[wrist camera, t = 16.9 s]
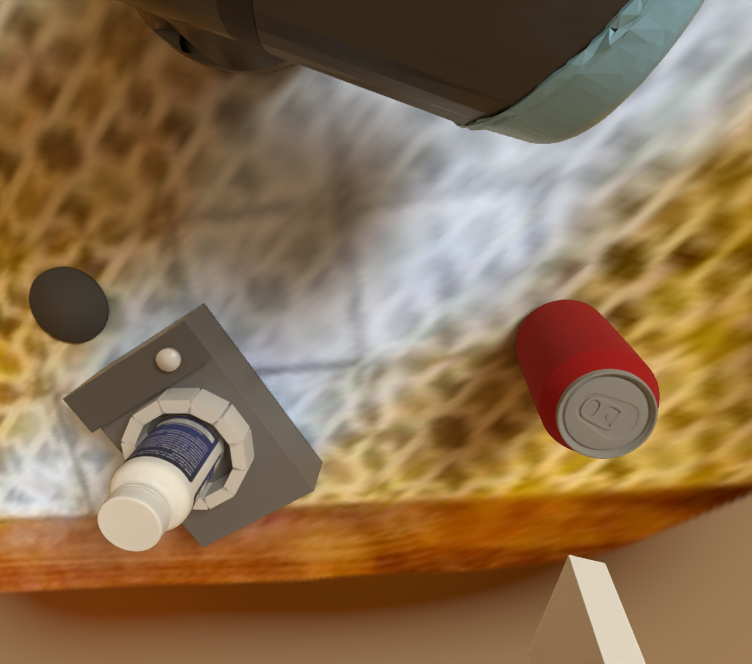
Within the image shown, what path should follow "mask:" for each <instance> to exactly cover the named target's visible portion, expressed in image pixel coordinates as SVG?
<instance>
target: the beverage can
mask: <svg viewBox="0 0 752 664" xmlns="http://www.w3.org/2000/svg"><path fill="white" fill-rule="evenodd" d="M516 354H517V357H518V360H519V363H520V366H521V369H522V372H523V375H524V377H525V380H526V383H527V385H528V388H529V391H530V393H531V396H532V398H533V401H534V403H535V406H536V408H537V411H538V413H539V416H540V418H541V420H542V423H543V425H544V427H545V429H546V430H547V432H548V433H549V434H550V435H551V437H552V438H554V439H555V440H556V441H557V442H558V443H560V444H561V445H563V446H565V447H566V448H568V449H571V450H573V451H576V452H578V453H580V454H582V455H585V456H588V457H592V458H599V459H607V458H615V457H619V456H622V455H625V454H627V453H630V452H631V451H633V450H635V449H636V448H638V447H639V446H640V445H642V444H643V443H644V442H645V441H646V440H647V438H648V437H649V436H650V434H651V433H652V431H653V429H654V427H655V424H656V421H657V416H658V408H659V399H660V395H659V387H658V383H657V380H656V378H655V376H654V374H653V373H652V371H651V370H650V368H649V367H648V366H647V365H646V364H645V362H644V361H643V360H642V359H641V358H640V357H639V355H638V354H637V353H636V352H635V351H634V350H633V349H632V347H631V346H630V345H629V344H628V343H627V342H626V341H625V340H624V339H623V337H622V336H621V335H620V334H619V333H618V332H617V331H616V330H615V329H614V328H613V327H612V326H611V324H610V323H609V322H608V321H607V320H606V319H605V318H604V317H603V316H602V315H601V314H600V313H599V312H598V311H597V310H596V309H594V308H593V307H591V306H590V305H588V304H586V303H583V302H580V301H575V300H558V301H553V302H550V303H547V304H545V305H542V306H541V307H539V308H537V309H536V310H534V311H533V312H532V313H531V314H530V315H529V316H528V317H527V318H526V319H525V321H524V322H523V323H522V325H521V327H520V329H519V332H518V334H517V338H516Z"/></svg>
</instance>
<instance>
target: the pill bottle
mask: <svg viewBox="0 0 752 664" xmlns="http://www.w3.org/2000/svg"><path fill="white" fill-rule="evenodd" d="M223 454H224V440H223V437H222V435H221V434H220V433H219V431H218V430H217V429H216V428H215V426H214V425H212V424H210V423H208V422H206V421H204V420H202V419H200V418H198V417H196V416H194V415H192V414H190V413H172V414H170V415H168V416H166V417H165V418H163V419H162V420H161V421H160V422H159V423H158V424H157V425H156V426H155V427H154V429H153V430H152V431H151V432H150V433H149V434H148V435H147V437H146V438H145V439H144V440H143V441H142V442H141V443H140V445H139V446H138V447H137V448H136V449H135V450H134V452H133V453H132V454H131V455H130V456H129V457H128V458H127V459H126V461H125V462H124V463H123V464H122V465H121V466H120V467H119V469H118V470H117V471H116V472H115V474H114V475H113V477H112V479H111V482H110V487H109V497H108V498H107V500H106V501H105V502H104V503H103V504H102V506H101V507H100V509H99V512H98V519H97V520H98V525H99V528H100V530H101V532H102V534H103V535H104V536H105V537H106V539H107V540H109V541H110V542H111V543H112V544H114V545H115V546H117V547H119V548H122V549H124V550H128V551H144V550H147V549H149V548H151V547H153V546H154V545H155V544H157V542H158V541H159V540H160V538H161V537H162V535H163V534H164V532H165V531H169V530H171V529H173V528H175V527H177V526H179V525H180V524H181V523H182V522H183V521H184V520H185V519H186V518H187V516H188V515H189V513H190V512H191V510H192V509H193V507H194V505H195V504H196V502H197V500H198V499H199V497H200V495H201V494H202V492H203V490H204V489H205V487H206V485H207V484H208V482H209V480H210V479H211V477H212V476H213V474H214V472H215V470H216V469H217V467H218V466H219V464H220V462H221V460H222V457H223Z"/></svg>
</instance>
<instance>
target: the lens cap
mask: <svg viewBox="0 0 752 664" xmlns="http://www.w3.org/2000/svg"><path fill="white" fill-rule="evenodd" d="M29 301H30V307H31V310H32V313H33V315H34V317H35V319H36V321H37V322H38V323H39V325H40V326H41V327H42V328H43V329H44V330H45V331H46V332H47V333H49V334H50V335H52V336H53V337H55V338H57V339H59V340H62V341H65V342H70V343H81V342H85V341H88V340H90V339H92V338H94V337H95V336H97V335H98V334H99V333H100V332H101V331H102V330H103V329H104V327H105V325H106V323H107V320H108V314H109V308H108V302H107V299H106V296H105V294H104V292H103V290H102V289H101V287H100V286H99V285H98V283H97V282H96V281H95V280H94V279H93V278H91V277H90V276H89V275H87V274H86V273H84V272H82V271H80V270H78V269H75V268H71V267H56V268H52V269H50V270H47V271H45V272H43V273H42V274H40V275H39V276H38V277H37V278H36V279H35V280H34V282H33V284H32V286H31V289H30V295H29Z"/></svg>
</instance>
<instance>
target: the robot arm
mask: <svg viewBox="0 0 752 664" xmlns="http://www.w3.org/2000/svg"><path fill="white" fill-rule="evenodd" d="M119 1H121V2H124V3H127V4H129V5H132V6H134V7H135V8H136V10H137V11H138V13H139V14H140V15H141V17H142V18H143V19H144V21H145V22H146V23H147V24H148V25H149V26H150V28H151V29H152V30H153V31H154V32H155V33H156V34H157V35H158V36H159V37H160V38H162V39H163V40H164V41H165V42H166V43H167V44H169V45H170V46H171V47H173V48H174V49H175V50H177V51H178V52H180V53H181V54H183V55H185V56H186V57H188V58H190V59H192V60H194V61H196V62H198V63H200V64H203V65H206V66H208V67H212V68H215V69H219V70H223V71H227V72H232V73H238V74H265V73H271V72H275V71H279V70H282V69H285V68H288V67H290V66H293V65H295V64H299V65H302V66H305V67H307V68H310V69H313V70H316V71H318V72H321V73H324V74H326V75H329V76H332V77H335V78H337V79H340V80H343V81H345V82H348V83H351V84H354V85H356V86H359V87H362V88H364V89H367V90H370V91H373V92H375V93H378V94H381V95H383V96H386V97H389V98H392V99H394V100H397V101H400V102H402V103H405V104H408V105H411V106H413V107H416V108H419V109H421V110H424V111H427V112H429V113H432V114H435V115H438V116H440V117H443V118H446V119H448V120H451V121H453V122H454V123H455V124H456V125H457V126H459V127H462V128H465V127H466V128H468V129H470V130H489V131H492V132H496V133H499V134H502V135H506V136H509V137H513V138H516V139H520V140H523V141H527V142H530V143H536V144H550V143H557V142H561V141H564V140H567V139H570V138H573V137H575V136H577V135H579V134H581V133H583V132H585V131H587V130H588V129H590V128H592V127H593V126H595V125H596V124H597V123H599V122H600V121H602V120H603V119H604V118H606V117H607V116H608V115H609V114H610V113H612V112H613V111H614V110H615V109H616V108H617V107H618V106H619V105H620V104H621V103H622V102H624V101H625V100H626V99H627V98H628V97H629V96H630V95H631V94H632V93H633V92H634V91H635V90H636V89H637V87H638V86H639V85H640V84H641V83H642V82H643V81H644V80H645V79H646V78H647V77H648V76H649V74H650V73H651V72H652V71H653V70H654V69H655V68H656V66H657V65H658V64H659V63H660V62H661V60H662V59H663V58H664V57H665V55H666V54H667V53H668V52H669V50H670V49H671V48H672V47H673V45H674V44H675V43H676V41H677V40H678V39H679V37H680V36H681V35H682V33H683V32H684V30H685V29H686V28H687V26H688V25H689V24H690V22H691V21H692V19H693V18H694V16H695V15H696V13H697V12H698V10H699V9H700V7H701V5H702V4H703V2H704V0H119ZM528 654H529V660H530V664H646V663H645V661H644V659H643V656H642V654H641V651H640V648H639V646H638V644H637V641H636V639H635V636H634V634H633V631H632V629H631V626H630V624H629V621H628V619H627V616H626V614H625V611H624V609H623V607H622V604H621V602H620V599H619V597H618V594H617V592H616V589H615V587H614V584H613V582H612V579H611V577H610V574H609V572H608V570H607V567H606V565H605V563H601V562H597V561H593V560H588V559H584V558H580V557H576V556H571V555H569V556H568V558H567V560H566V563H565V565H564V568H563V570H562V572H561V575H560V577H559V580H558V582H557V584H556V587H555V589H554V592H553V594H552V596H551V599H550V601H549V604H548V606H547V608H546V611H545V613H544V615H543V618H542V620H541V623H540V625H539V627H538V630H537V632H536V634H535V637H534V639H533V642H532V644H531V646H530V649H529V651H528Z"/></svg>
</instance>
